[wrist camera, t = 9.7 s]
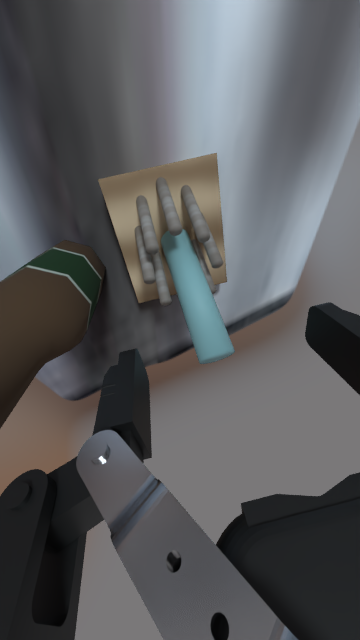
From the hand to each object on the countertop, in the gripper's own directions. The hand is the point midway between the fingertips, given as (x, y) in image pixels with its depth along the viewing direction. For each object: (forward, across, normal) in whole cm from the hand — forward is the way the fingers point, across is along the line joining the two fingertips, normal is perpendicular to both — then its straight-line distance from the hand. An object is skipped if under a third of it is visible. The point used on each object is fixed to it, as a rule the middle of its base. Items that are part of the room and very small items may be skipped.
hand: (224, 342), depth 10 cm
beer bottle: (+22, +13, +1) cm, 25 cm away
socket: (+22, 0, -1) cm, 22 cm away
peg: (+18, 0, -1) cm, 18 cm away
